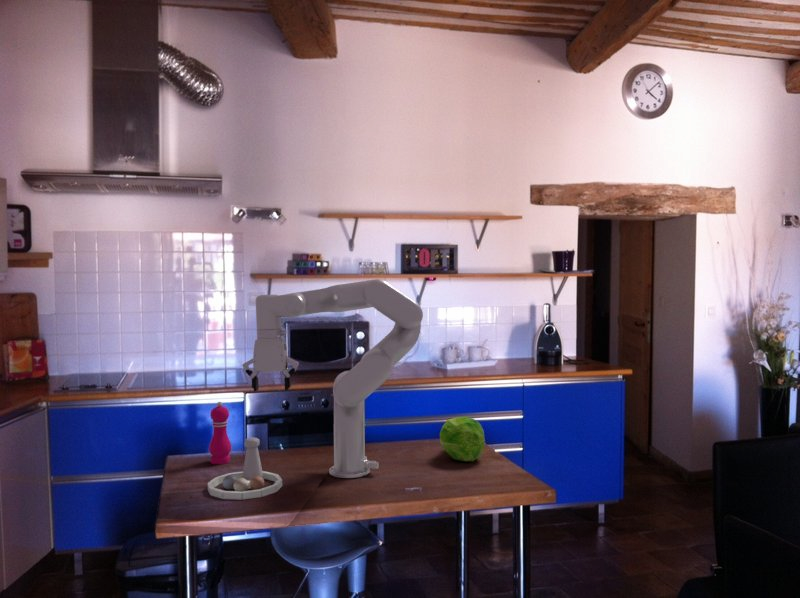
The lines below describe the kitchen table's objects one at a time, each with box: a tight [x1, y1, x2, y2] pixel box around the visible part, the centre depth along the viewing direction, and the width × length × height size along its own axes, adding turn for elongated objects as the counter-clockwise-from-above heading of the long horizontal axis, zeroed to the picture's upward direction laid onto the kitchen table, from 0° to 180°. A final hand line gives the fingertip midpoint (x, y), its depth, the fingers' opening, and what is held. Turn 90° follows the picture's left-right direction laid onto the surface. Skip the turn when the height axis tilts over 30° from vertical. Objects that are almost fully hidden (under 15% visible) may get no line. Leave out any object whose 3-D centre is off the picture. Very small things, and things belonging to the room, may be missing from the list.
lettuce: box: [439, 416, 486, 462], centre depth 220 cm, size 15×22×15 cm
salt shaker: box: [242, 437, 263, 481], centre depth 189 cm, size 6×6×13 cm
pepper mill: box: [208, 401, 233, 465], centre depth 215 cm, size 7×7×20 cm
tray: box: [207, 470, 283, 500], centre depth 184 cm, size 20×20×3 cm
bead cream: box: [233, 478, 248, 492], centre depth 181 cm, size 4×4×4 cm
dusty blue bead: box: [222, 475, 237, 491], centre depth 183 cm, size 4×4×4 cm
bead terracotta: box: [250, 476, 265, 490], centre depth 182 cm, size 4×4×4 cm
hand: (271, 390), depth 200 cm, fingers open, 9 cm apart
